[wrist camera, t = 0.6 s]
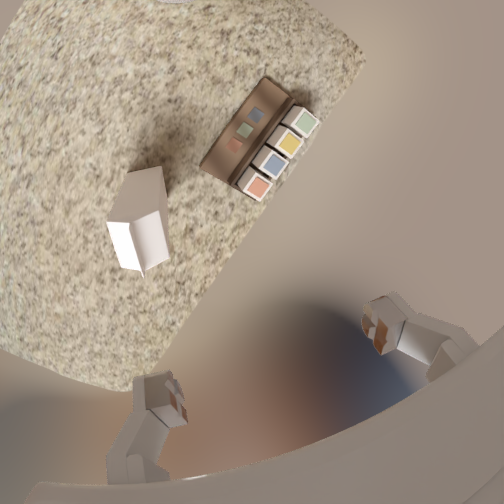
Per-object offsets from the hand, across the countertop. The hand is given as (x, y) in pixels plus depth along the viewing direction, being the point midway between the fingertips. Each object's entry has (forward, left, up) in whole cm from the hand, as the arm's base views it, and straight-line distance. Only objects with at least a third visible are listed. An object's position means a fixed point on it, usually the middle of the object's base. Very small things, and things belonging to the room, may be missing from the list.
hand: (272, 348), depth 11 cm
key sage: (-5, +16, -37) cm, 40 cm away
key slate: (+1, +12, -37) cm, 39 cm away
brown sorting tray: (-1, +11, -41) cm, 42 cm away
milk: (+7, -7, -41) cm, 42 cm away
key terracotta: (+5, +10, -37) cm, 38 cm away
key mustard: (-2, +14, -37) cm, 39 cm away
